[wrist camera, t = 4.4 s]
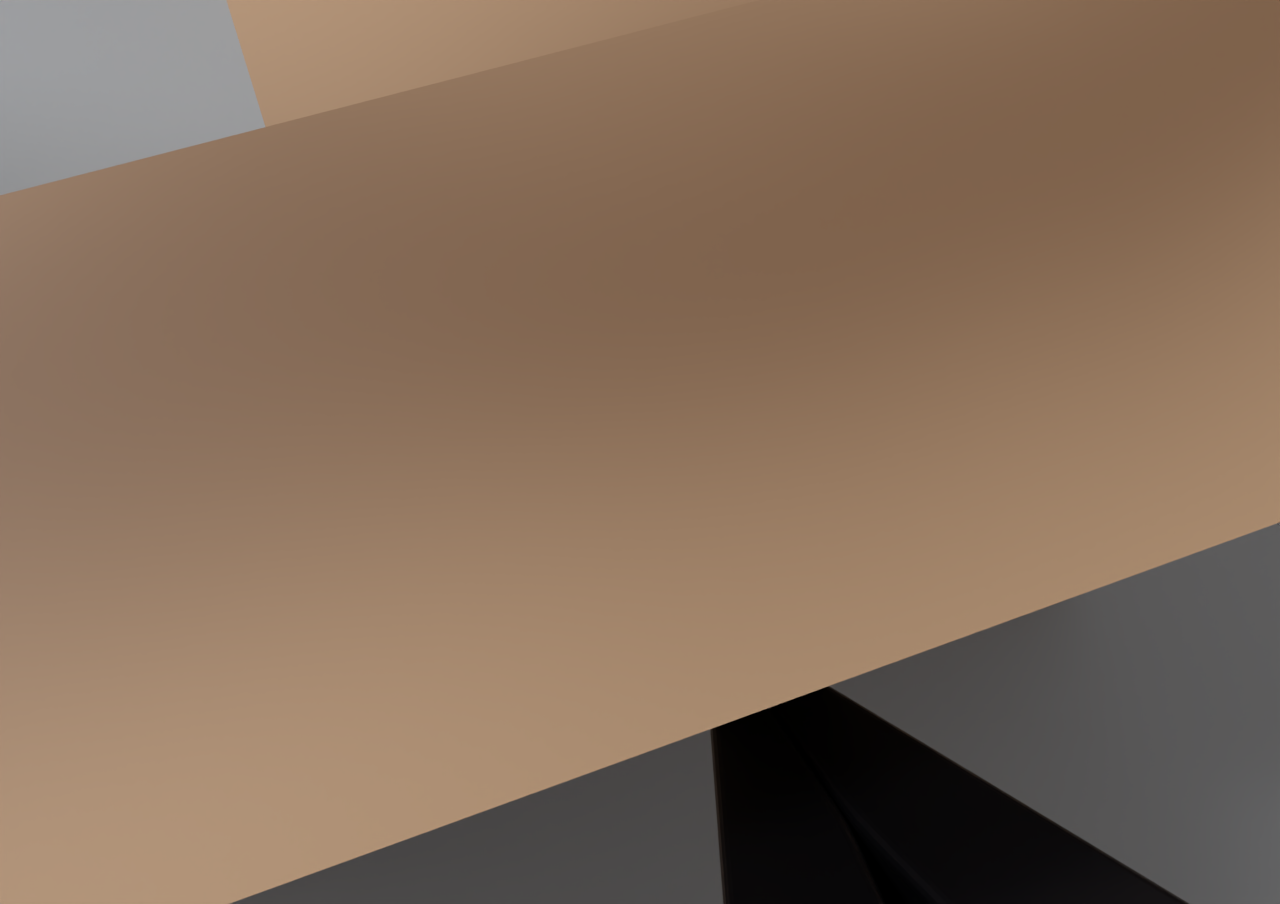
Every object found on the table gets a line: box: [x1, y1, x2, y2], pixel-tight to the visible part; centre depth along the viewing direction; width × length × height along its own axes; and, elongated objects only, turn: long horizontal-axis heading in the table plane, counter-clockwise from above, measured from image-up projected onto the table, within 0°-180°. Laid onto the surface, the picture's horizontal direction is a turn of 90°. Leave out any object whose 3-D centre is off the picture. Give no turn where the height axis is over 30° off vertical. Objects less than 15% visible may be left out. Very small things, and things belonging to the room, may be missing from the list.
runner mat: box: [0, 0, 1280, 904], centre depth 15 cm, size 26×18×3 cm
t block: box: [0, 0, 1280, 904], centre depth 12 cm, size 13×12×9 cm
